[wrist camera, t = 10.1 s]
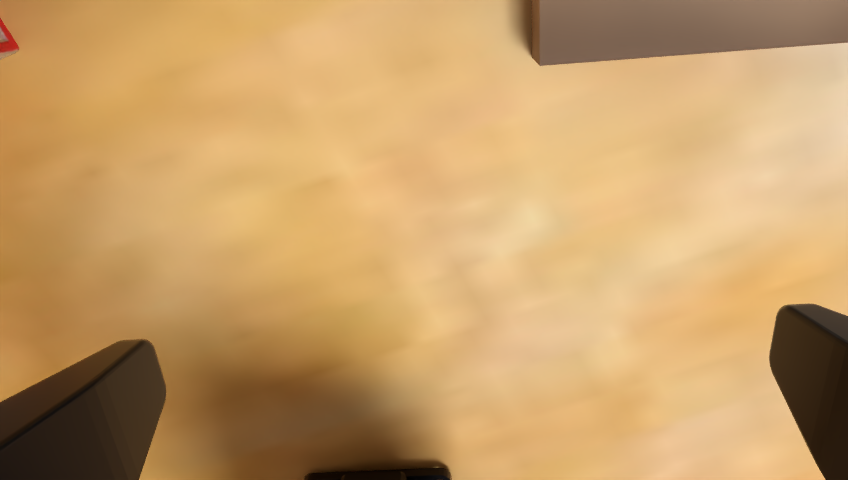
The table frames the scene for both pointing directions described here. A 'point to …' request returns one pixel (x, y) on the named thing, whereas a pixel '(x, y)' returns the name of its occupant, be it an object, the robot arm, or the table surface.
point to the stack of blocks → (6, 42)
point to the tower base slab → (678, 27)
